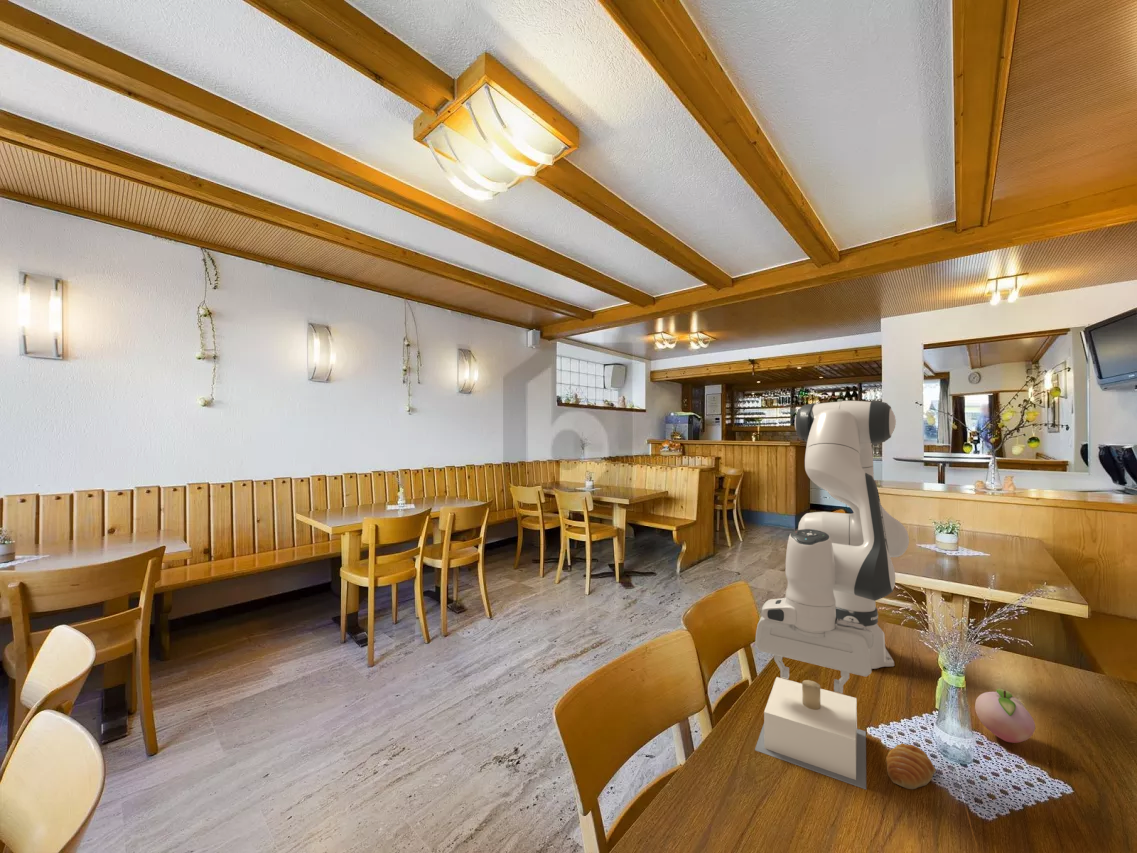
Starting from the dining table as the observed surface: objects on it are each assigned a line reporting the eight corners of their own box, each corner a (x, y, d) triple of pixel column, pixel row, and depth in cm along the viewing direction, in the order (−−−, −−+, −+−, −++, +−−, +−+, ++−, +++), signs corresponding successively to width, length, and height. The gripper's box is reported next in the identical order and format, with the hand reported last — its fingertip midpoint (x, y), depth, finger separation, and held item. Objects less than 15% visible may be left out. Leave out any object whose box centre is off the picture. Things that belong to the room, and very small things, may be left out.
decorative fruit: (969, 721, 96) (968, 674, 97) (1021, 733, 93) (1020, 684, 93) (984, 748, 88) (983, 696, 88) (1042, 763, 84) (1041, 708, 85)
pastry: (924, 802, 76) (924, 778, 76) (877, 779, 81) (877, 757, 81) (937, 774, 82) (936, 752, 82) (892, 754, 87) (892, 734, 87)
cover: (776, 708, 101) (776, 658, 101) (857, 732, 92) (856, 678, 93) (764, 748, 88) (763, 691, 88) (856, 780, 80) (855, 717, 80)
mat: (770, 704, 103) (770, 703, 103) (865, 733, 93) (865, 731, 93) (754, 752, 88) (754, 749, 88) (866, 791, 78) (866, 789, 78)
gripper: (872, 619, 87) (873, 692, 87) (759, 599, 99) (759, 663, 98) (873, 631, 82) (874, 709, 82) (753, 608, 93) (753, 676, 93)
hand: (810, 684), depth 90 cm, fingers open, 8 cm apart
